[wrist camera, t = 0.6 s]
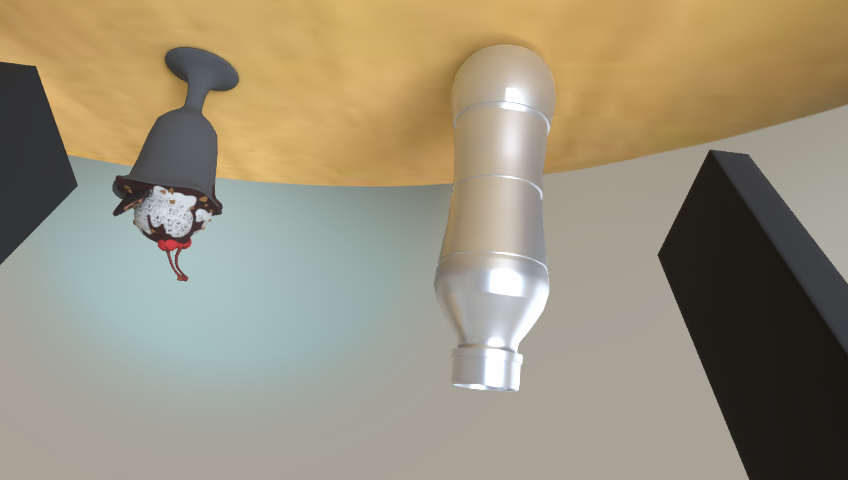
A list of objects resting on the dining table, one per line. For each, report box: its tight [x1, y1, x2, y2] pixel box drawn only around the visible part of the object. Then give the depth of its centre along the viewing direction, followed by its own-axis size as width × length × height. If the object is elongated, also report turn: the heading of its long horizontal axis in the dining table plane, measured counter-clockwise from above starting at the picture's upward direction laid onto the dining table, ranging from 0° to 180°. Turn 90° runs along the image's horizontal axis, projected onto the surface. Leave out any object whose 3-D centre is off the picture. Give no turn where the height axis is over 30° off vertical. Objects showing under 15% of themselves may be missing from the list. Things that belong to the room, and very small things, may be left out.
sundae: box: [113, 48, 239, 281], centre depth 37 cm, size 7×7×15 cm
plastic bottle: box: [434, 44, 556, 391], centre depth 32 cm, size 6×7×20 cm
